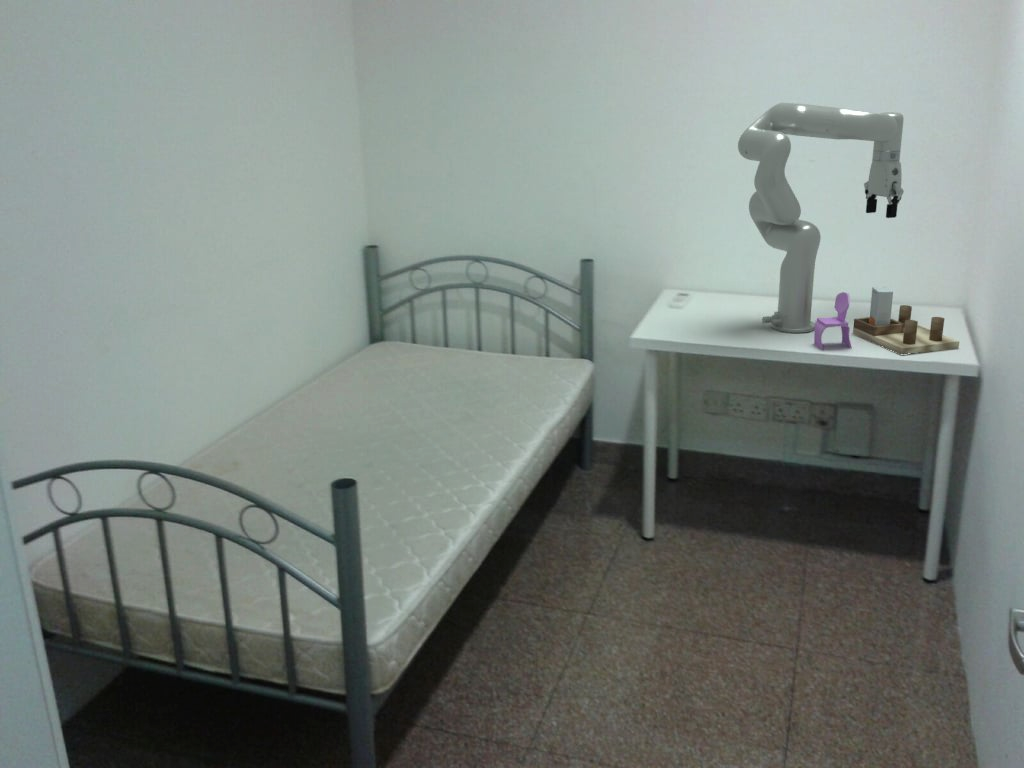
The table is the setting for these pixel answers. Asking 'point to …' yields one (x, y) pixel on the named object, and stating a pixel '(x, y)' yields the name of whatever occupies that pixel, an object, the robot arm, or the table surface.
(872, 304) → the skincare box
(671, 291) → the table surface
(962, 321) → the table surface
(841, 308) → the toy chair
